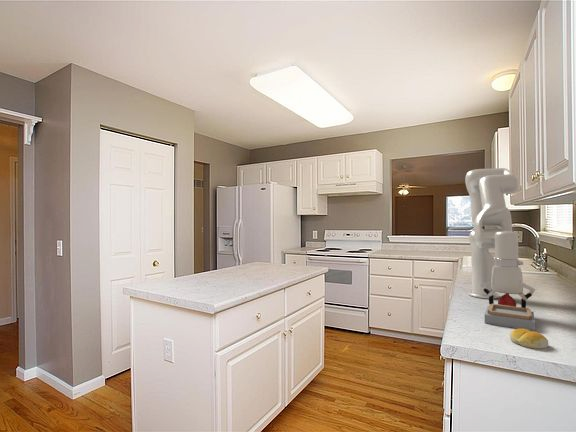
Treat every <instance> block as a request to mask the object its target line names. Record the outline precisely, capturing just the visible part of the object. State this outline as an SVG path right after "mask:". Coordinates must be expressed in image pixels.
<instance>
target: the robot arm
mask: <svg viewBox="0 0 576 432" xmlns="http://www.w3.org/2000/svg"><path fill="white" fill-rule="evenodd" d="M464 182H465V187H466V190H467V193H468V195H469V198H470V212H471V214H470V215H471V223H472V224H473V230H471V232H469V235H468V240H469V244H470V245H469V246H470V254H471V290H469V291H468V293H467V294H468V295H469V296H471V297H474V298H481V299H488V304H489V305H490V304H495V303H494V300H495V299H499V298H500V294H506V293H508V294H509V295H518V296H519V297H520V298H521V299H520V302H521V303H520V305H521V306H520V307H523V308H527V300H528V299H529V298H531V297H532V296H533V295H534V293H535V291H536V288H535V287H533V286H530V285H528V284H527V283H526V282H525V283H524V280H523V279H524V278H523V271H522V268H521V267H520V266H524V261H523V260H519V234H518V233H517V232H516V231H513V222H512V214H511V211H510V210H509V208H508V207H507V205H506V200H505V195H506V194H507V195H508V194H509V195H511V194H515V193H517V191H518V189H519V181H518V178H517V176H516V175H515V173H513V172H512V171H511V170H509V169H508V168H503V167H498V168H496V167H495V168H478V169H471V170H469V171H468V172H466V175H465V181H464ZM483 227H497V228H483ZM489 250H494V255H493V254H492V253H491V252H490V251H489ZM524 289H527V290H528V293H526V294H525V293H524Z"/></svg>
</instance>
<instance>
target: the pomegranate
mask: <svg viewBox="0 0 576 432" xmlns="http://www.w3.org/2000/svg"><path fill="white" fill-rule="evenodd" d="M497 304H499V305H507V306H515V307H517V302H516V300H515V298H514V297H512V296H511V295H510V294H508V293H504V294H503V295H501V296H499V298H498V302H497Z"/></svg>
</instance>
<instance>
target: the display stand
mask: <svg viewBox="0 0 576 432" xmlns="http://www.w3.org/2000/svg"><path fill="white" fill-rule="evenodd" d="M484 324H488V325H493V326H494V325H495V326H500V327H508V328H515V329H528V330H530V331H532V332H533V331H534V332H536V321H535V313H534V311H532V309H531V308H529V307H526V308H523V307H521V306H516V307H515V306H507V305H499V304H498V303H494V304H489V305H487V307H486V309H485V312H484Z"/></svg>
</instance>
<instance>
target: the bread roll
mask: <svg viewBox="0 0 576 432" xmlns="http://www.w3.org/2000/svg"><path fill="white" fill-rule="evenodd" d="M509 338H510V339H509V340H510V341H511V342H512V343H515V344H516V345H520V346H521V347H525V348H529V349H536V350H537V349H538V350H541V349H547V348H548V346H549V339H548V338H547V337H545V336H544V335H543V334H541V333H540V332H537V331H532V330H528V329H519V328H515V329H513V330H512V331H511V332H510V334H509Z"/></svg>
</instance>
